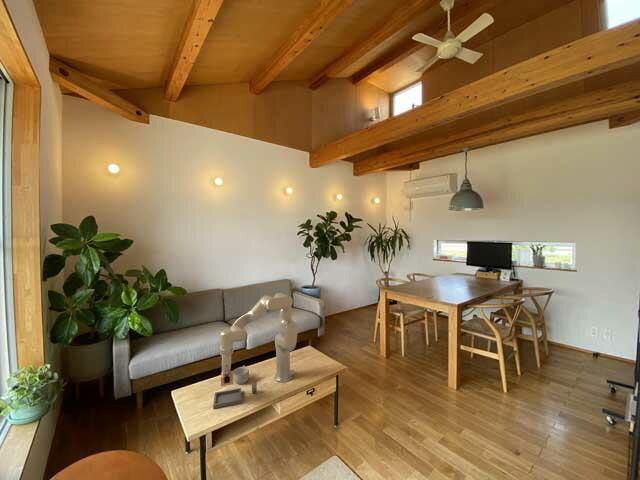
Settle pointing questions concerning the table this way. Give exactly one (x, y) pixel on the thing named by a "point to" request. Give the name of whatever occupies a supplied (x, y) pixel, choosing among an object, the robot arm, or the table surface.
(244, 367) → the teacup
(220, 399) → the tray
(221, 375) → the pink block with knob
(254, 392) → the post
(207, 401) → the table surface
